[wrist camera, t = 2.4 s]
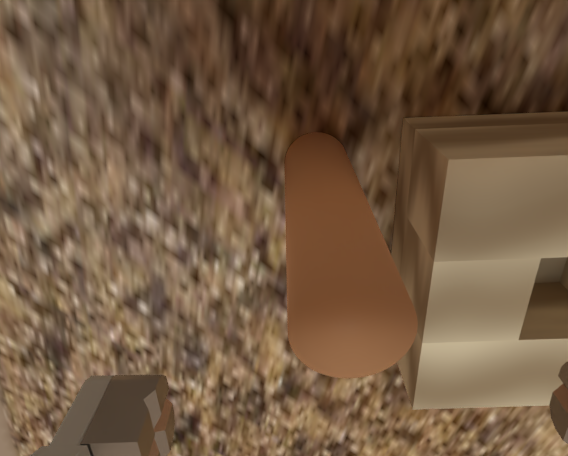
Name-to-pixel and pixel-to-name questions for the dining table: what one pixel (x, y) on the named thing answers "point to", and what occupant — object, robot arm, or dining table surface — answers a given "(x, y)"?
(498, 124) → the bore block
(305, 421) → the dining table surface
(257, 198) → the dining table surface
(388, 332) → the dowel pin
